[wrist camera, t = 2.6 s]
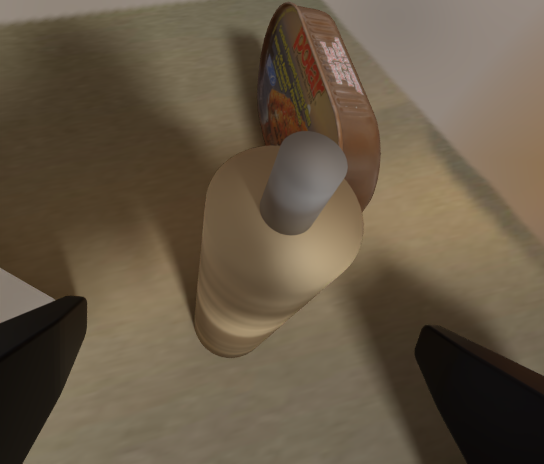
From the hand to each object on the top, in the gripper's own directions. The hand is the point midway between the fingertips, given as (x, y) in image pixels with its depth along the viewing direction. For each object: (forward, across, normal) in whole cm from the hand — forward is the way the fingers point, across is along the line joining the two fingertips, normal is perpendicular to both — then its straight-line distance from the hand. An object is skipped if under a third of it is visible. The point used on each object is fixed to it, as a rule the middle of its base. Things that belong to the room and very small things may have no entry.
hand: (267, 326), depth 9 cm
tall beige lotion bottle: (+9, 0, +5) cm, 10 cm away
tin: (+17, -3, -3) cm, 18 cm away
